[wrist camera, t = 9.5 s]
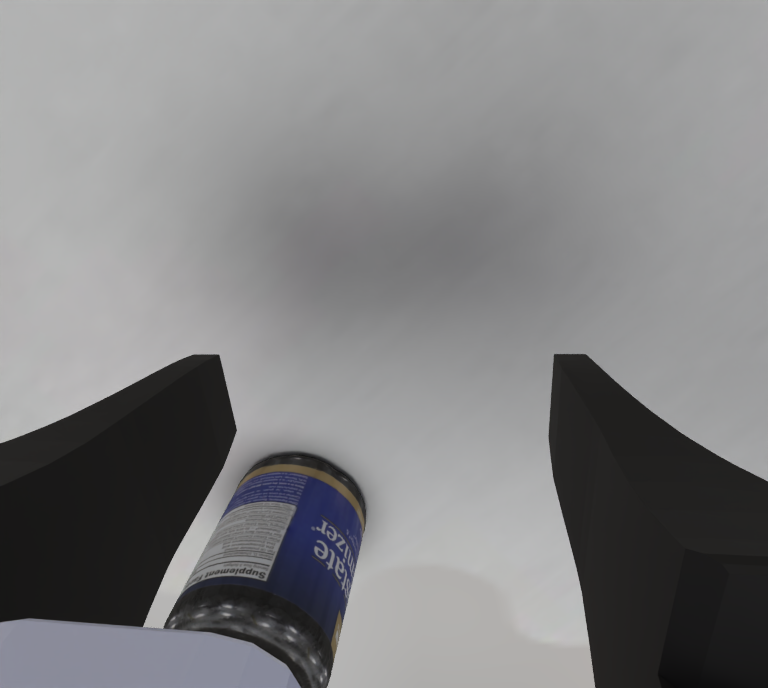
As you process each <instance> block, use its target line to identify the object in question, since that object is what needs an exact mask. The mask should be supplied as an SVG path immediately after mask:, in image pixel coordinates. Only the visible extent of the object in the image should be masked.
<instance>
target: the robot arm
mask: <svg viewBox="0 0 768 688" xmlns="http://www.w3.org/2000/svg"><path fill="white" fill-rule="evenodd" d="M236 431H237V429H236V424H235V420H234V416H233V412H232V407H231V403H230V399H229V394H228V390H227V386H226V381H225V377H224V373H223V369H222V364H221V360H220V356H219V355H191V356H188V357H186V358H183V359H181V360H179V361H177V362H175V363H172V364H170V365H168V366H166V367H164V368H163V369H161V370H159V371H157V372H155V373H153V374H151V375H149V376H147V377H145V378H143V379H142V380H140V381H138V382H136V383H134V384H132V385H130V386H128V387H126V388H125V389H123V390H121V391H119V392H117V393H115V394H113V395H111V396H109V397H107V398H105V399H103V400H101V401H99V402H97V403H95V404H93V405H91V406H89V407H87V408H85V409H83V410H81V411H78V412H76V413H74V414H72V415H70V416H68V417H66V418H64V419H61V420H59V421H57V422H54V423H52V424H50V425H48V426H45V427H43V428H40V429H38V430H35V431H33V432H30V433H28V434H25V435H23V436H20V437H17V438H15V439H12V440H9V441H6V442H3V443H0V688H301V687H300V685H299V684H298V682H297V680H296V679H295V677H294V676H293V674H292V672H291V671H290V669H289V668H288V666H287V665H286V664H284V663H283V662H281V661H280V660H278V659H277V658H275V657H273V656H272V655H270V654H269V653H267V652H266V651H264V650H263V649H261V648H259V647H258V646H256V645H255V644H253V643H251V642H247V641H243V640H239V639H235V638H231V637H227V636H223V635H219V634H215V633H211V632H198V631H186V630H173V629H159V628H147V627H143V625H144V623H145V620H146V618H147V615H148V612H149V610H150V608H151V605H152V603H153V601H154V598H155V596H156V594H157V591H158V589H159V587H160V584H161V582H162V580H163V577H164V575H165V573H166V570H167V568H168V566H169V564H170V562H171V560H172V558H173V556H174V554H175V552H176V550H177V549H178V547H179V545H180V543H181V542H182V540H183V538H184V536H185V535H186V533H187V531H188V529H189V528H190V526H191V524H192V522H193V520H194V519H195V517H196V515H197V513H198V512H199V510H200V508H201V506H202V505H203V503H204V501H205V499H206V498H207V496H208V494H209V492H210V490H211V489H212V487H213V485H214V483H215V481H216V480H217V478H218V476H219V474H220V472H221V470H222V468H223V466H224V464H225V461H226V459H227V456H228V454H229V451H230V448H231V446H232V443H233V440H234V437H235V434H236ZM549 445H550V454H551V463H552V470H553V478H554V482H555V486H556V490H557V494H558V498H559V502H560V506H561V510H562V514H563V518H564V522H565V525H566V529H567V533H568V537H569V541H570V545H571V548H572V552H573V556H574V560H575V564H576V568H577V572H578V576H579V581H580V586H581V591H582V596H583V603H584V610H585V617H586V623H587V630H588V637H589V644H590V651H591V659H592V665H593V673H594V681H595V687H596V688H768V481H766V480H764V479H762V478H760V477H758V476H756V475H754V474H752V473H750V472H748V471H746V470H744V469H742V468H740V467H738V466H736V465H734V464H732V463H730V462H728V461H727V460H725V459H723V458H721V457H719V456H718V455H716V454H714V453H713V452H711V451H709V450H708V449H706V448H704V447H703V446H701V445H699V444H698V443H696V442H694V441H693V440H691V439H690V438H688V437H687V436H685V435H684V434H682V433H681V432H679V431H678V430H676V429H675V428H673V427H672V426H671V425H669V424H668V423H666V422H665V421H664V420H662V419H661V418H660V417H658V416H657V415H655V414H654V413H653V412H651V411H650V410H649V409H648V408H646V407H645V406H644V405H643V404H641V403H640V402H639V401H638V400H636V399H635V398H634V397H633V396H632V395H630V394H629V393H628V392H627V391H626V390H625V389H623V388H622V387H621V386H620V385H619V384H618V383H617V382H616V381H614V380H613V379H612V378H611V377H610V376H609V375H608V374H607V373H606V372H605V371H603V370H602V369H601V368H600V367H599V366H598V365H597V364H596V363H595V362H594V361H593V360H592V359H590V358H589V357H588V356H587V355H586V354H554V363H553V378H552V393H551V408H550V423H549Z"/></svg>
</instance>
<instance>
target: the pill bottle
mask: <svg viewBox="0 0 768 688" xmlns="http://www.w3.org/2000/svg"><path fill="white" fill-rule="evenodd" d="M365 524H366V510H365V505H364V502H363V500H362V497H361V495H360V493H359V492H358V490H357V488H356V487H355V486H354V484H353V483H352V482H351V481H350V480H349V479H348V478H347V477H346V476H344V475H343V474H342V473H340V472H338V471H336V470H335V469H333V468H332V467H331V466H330V465H329V464H327V463H324V462H323V461H320V460H317V459H314V458H310V457H306V456H297V455H291V456H283V457H275V458H270V459H268V460H265V461H263V462H261V463H259V464H257V465H255V466H254V467H253V468H252V469H251V470H250V471H249V472H248V473H247V474H246V475H245V477H244V478H243V479H242V480H241V482H240V484H239V486H238V487H237V490H236V492H235V493H234V495H233V497H232V499H231V501H230V503H229V505H228V506H227V508H226V510H225V512H224V514H223V516H222V518H221V519H220V521H219V523H218V525H217V527H216V529H215V531H214V532H213V534H212V536H211V538H210V540H209V542H208V544H207V545H206V547H205V549H204V551H203V553H202V555H201V557H200V559H199V560H198V562H197V564H196V566H195V568H194V570H193V572H192V574H191V575H190V577H189V579H188V581H187V583H186V585H185V587H184V588H183V590H182V592H181V594H180V596H179V598H178V600H177V602H176V603H175V605H174V607H173V609H172V611H171V613H170V615H169V617H168V618H167V620H166V623H165V625H164V628H163V629H173V630H186V631H198V632H211V633H215V634H219V635H223V636H227V637H231V638H235V639H239V640H243V641H247V642H251V643H253V644H255V645H256V646H258V647H259V648H261V649H263V650H264V651H266V652H267V653H269V654H270V655H272V656H273V657H275V658H277V659H278V660H280V661H281V662H283V663H284V664H286V665H287V666H288V668H289V669H290V671H291V672H292V674H293V676H294V677H295V679H296V680H297V682H298V684H299V685H300V687H301V688H327V686H328V683H329V679H330V676H331V670H332V667H333V662H334V658H335V653H336V650H337V645H338V641H339V637H340V632H341V628H342V623H343V619H344V615H345V611H346V607H347V603H348V598H349V594H350V589H351V585H352V581H353V577H354V572H355V568H356V563H357V559H358V555H359V550H360V546H361V541H362V537H363V533H364V530H365Z"/></svg>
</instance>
